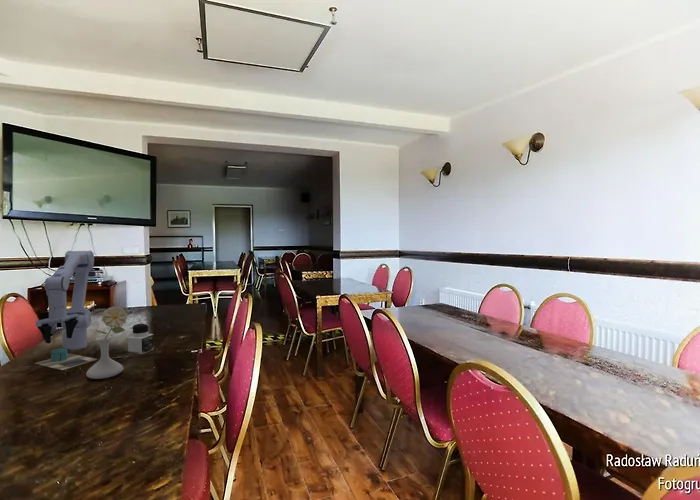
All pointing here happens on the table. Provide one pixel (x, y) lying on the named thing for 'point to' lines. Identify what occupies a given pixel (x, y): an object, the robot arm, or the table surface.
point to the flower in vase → (106, 364)
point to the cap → (59, 354)
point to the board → (67, 362)
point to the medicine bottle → (140, 339)
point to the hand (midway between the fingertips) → (58, 340)
